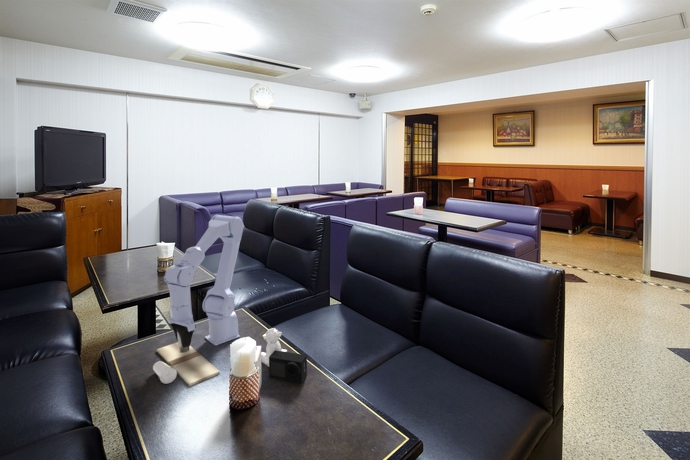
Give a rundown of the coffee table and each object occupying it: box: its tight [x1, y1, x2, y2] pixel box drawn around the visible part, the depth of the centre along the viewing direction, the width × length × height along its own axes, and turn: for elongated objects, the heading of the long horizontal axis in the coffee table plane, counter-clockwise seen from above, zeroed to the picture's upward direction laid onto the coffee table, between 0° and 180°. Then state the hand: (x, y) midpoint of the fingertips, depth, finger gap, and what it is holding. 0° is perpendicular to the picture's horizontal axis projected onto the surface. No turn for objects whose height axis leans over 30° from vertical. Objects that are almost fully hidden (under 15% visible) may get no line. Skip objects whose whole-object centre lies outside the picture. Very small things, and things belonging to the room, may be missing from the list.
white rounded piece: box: [152, 360, 179, 385], centre depth 111 cm, size 4×5×10 cm
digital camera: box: [268, 350, 308, 384], centre depth 111 cm, size 10×5×7 cm, turn 75°
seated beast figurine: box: [261, 327, 288, 368], centre depth 119 cm, size 10×9×12 cm
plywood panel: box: [156, 341, 220, 387], centre depth 119 cm, size 9×26×1 cm, turn 45°
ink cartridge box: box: [244, 336, 263, 401], centre depth 104 cm, size 9×5×15 cm, turn 5°
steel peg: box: [177, 332, 191, 353], centre depth 118 cm, size 3×3×7 cm
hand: (184, 344), depth 119 cm, fingers closed on steel peg, 3 cm apart
